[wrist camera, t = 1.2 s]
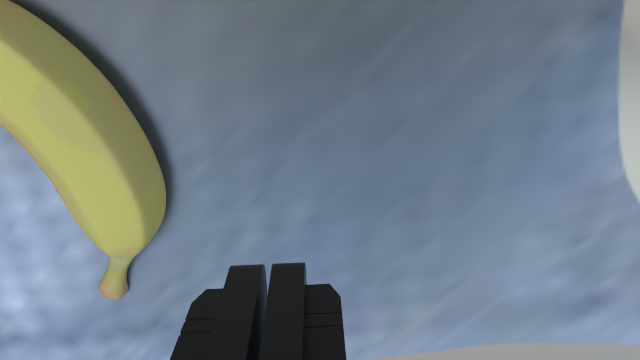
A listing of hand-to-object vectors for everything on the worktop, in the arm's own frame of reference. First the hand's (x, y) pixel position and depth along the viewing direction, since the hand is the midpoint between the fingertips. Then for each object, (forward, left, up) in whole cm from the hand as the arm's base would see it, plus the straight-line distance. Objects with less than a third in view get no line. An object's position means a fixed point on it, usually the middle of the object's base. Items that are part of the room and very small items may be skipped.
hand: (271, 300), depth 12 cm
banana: (+1, -15, -20) cm, 24 cm away
